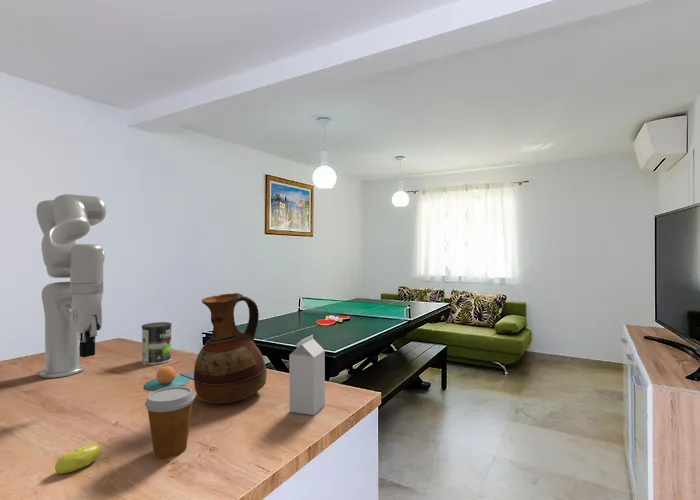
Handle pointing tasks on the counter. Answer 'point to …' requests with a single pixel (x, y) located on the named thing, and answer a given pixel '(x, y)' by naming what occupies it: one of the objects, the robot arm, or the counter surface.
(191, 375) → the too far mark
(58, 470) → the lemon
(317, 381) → the milk carton
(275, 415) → the counter surface
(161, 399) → the disposable coffee cup
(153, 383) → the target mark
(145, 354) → the coffee can
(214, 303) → the ceramic pitcher
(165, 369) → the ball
